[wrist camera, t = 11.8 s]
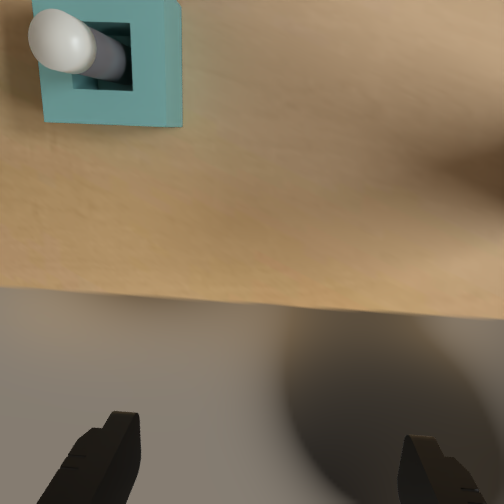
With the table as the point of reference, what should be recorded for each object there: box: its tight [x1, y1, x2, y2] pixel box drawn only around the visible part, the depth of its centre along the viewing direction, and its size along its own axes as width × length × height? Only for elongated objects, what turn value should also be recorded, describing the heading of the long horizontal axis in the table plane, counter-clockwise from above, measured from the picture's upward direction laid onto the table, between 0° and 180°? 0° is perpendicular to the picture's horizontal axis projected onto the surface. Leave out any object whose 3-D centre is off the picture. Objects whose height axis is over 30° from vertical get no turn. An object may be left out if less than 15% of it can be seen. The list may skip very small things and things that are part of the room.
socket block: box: [32, 0, 183, 127], centre depth 35 cm, size 10×10×6 cm
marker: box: [28, 9, 133, 85], centre depth 31 cm, size 3×3×12 cm
